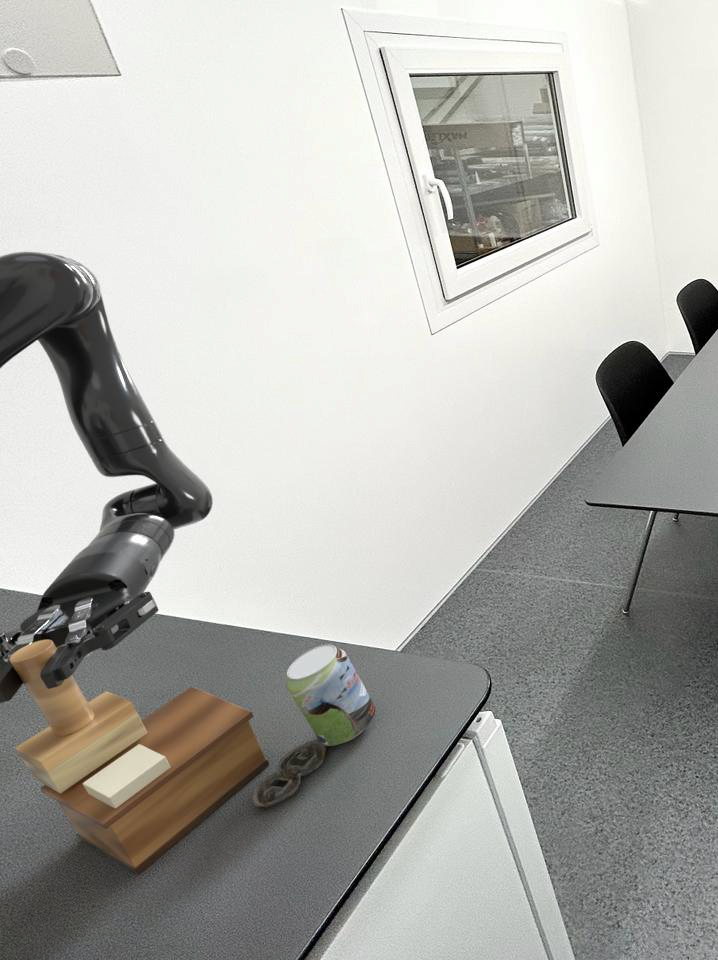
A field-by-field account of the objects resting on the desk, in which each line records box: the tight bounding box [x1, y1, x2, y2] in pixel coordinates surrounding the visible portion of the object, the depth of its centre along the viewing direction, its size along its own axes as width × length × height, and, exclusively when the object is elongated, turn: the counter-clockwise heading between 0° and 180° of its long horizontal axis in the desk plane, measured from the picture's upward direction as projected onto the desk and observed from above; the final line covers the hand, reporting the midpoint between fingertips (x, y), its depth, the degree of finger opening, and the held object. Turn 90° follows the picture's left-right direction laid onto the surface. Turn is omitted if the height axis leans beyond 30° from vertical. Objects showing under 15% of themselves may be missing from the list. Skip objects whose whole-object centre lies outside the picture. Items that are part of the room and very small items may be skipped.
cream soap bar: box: [83, 744, 171, 809], centre depth 64 cm, size 4×4×2 cm
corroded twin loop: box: [251, 739, 327, 808], centre depth 72 cm, size 5×8×1 cm, turn 174°
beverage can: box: [285, 644, 376, 747], centre depth 76 cm, size 6×7×12 cm
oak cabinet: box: [39, 686, 270, 876], centre depth 69 cm, size 11×13×8 cm
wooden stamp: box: [10, 640, 148, 793], centre depth 63 cm, size 4×7×15 cm, turn 161°
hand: (24, 687), depth 59 cm, fingers closed on wooden stamp, 3 cm apart
